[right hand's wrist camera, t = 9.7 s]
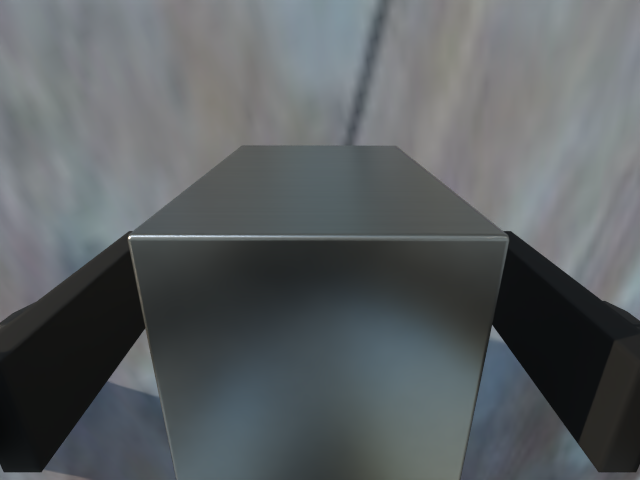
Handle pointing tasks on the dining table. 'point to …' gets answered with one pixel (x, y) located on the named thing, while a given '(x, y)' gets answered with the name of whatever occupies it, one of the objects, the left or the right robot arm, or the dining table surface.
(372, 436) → the bar
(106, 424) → the dining table surface
